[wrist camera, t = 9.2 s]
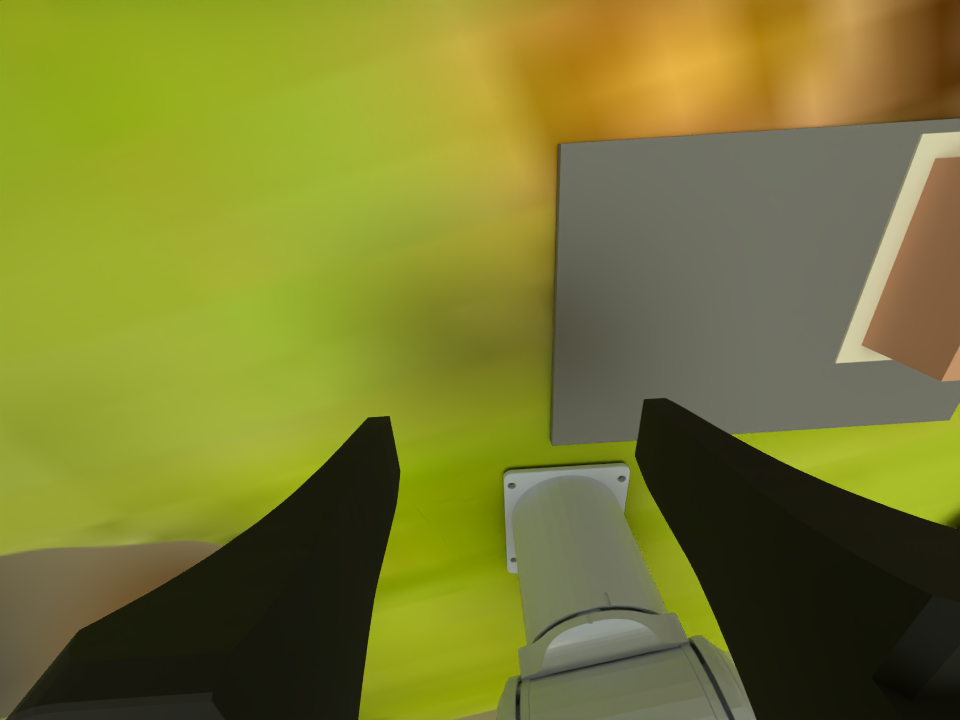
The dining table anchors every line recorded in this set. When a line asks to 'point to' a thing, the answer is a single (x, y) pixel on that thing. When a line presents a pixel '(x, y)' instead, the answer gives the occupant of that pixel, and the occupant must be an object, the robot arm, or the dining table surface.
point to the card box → (925, 284)
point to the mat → (737, 279)
